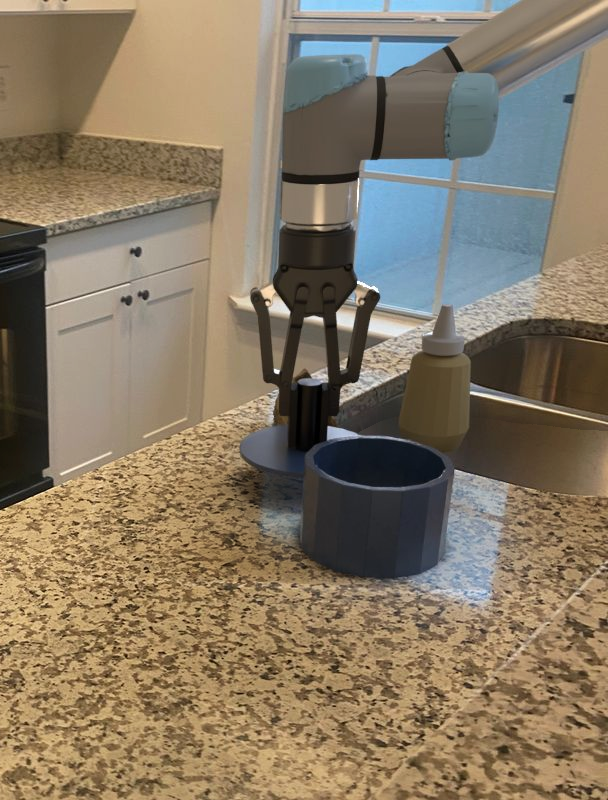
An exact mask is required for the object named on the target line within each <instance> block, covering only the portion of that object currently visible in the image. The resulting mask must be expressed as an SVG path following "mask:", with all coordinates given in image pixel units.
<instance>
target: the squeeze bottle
mask: <svg viewBox="0 0 608 800" xmlns="http://www.w3.org/2000/svg"><path fill="white" fill-rule="evenodd" d="M437 315H438V316H437V319H436V321H435V323H434V327H433V330H432V331H431V332H426V333H424V334H423V335H422V337H421V338H422V340H421V347H420V349H421V350H419V351H417V352H416V353H415V354H413V355H412V357H411V359H410V360H411V361H410V365H409V369H408V375H407V377H406V378H407V379H406V383H405V388H404V393H403V398H402V403H401V406H400V411H399V417H398V427H399V430H400V435H401V439H407V440H411V441H415V442H418V443H421V444H424V445H427V446H430V447H433V448H435V449H437V450H438V451H440V452H442V453H443V454H445V453H451V452H454V451H456V450H458V449H459V448H460V446H461V444H462V442H463V441H464V439H465V436H466V434H467V433H468V430H469V429H470V411H471V410H470V407H471V371H472V370H471V369H472V368H471V367H472V366H471V363H472V362H471V359H470V358H469V356H468V355H467V354H466V353H463V352H464V350H465V344H466V343H465V342H466V338H465V336H463V335H462V334H459V333H457V332H456V322H455V313H454V304H450V303H442V304H441V306H440V310H439V312H438V314H437Z"/></svg>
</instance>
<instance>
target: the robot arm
mask: <svg viewBox="0 0 608 800" xmlns="http://www.w3.org/2000/svg"><path fill="white" fill-rule="evenodd" d="M607 39H608V0H519V1H517V2H516V3H514V4H512V5H511V6H508V7H507V8H505V9H504V10H502V11H501V12H499V13H497V14H495V15H494V16H492V17H490V18H489V19H488V20H486V21H483V22H482V23H481V24H479V25H477V26H476V27H473V28H472V29H470V30H469V31H467V32H466V33H463V34H462V35H460V36H459V37H457V38H455V39H454V40H452V41H451V42H449V43H447V44H446V45H445V46H444V47H442V48H440V49H438V50H436V51H433V53H431V54H429V55H427V56H426V57H424V58H422V59H421V60H419V61H417V62H416V63H414V64H411V65H409V66H408V65H407V66H404V67H401V68H399V69H398V70H396V71H394V72H393V73H392V74H390V75H389V76H383V75H377V76H376V75H374V74H373V75H371V74H370V75H369V70H368V67H367V66H368V64H367V63H368V62H367V59H366V57H365V56H364V55H362V54H357V53H355V54H354V53H353V54H345V53H344V54H320V55H319V54H318V55H317V54H316V55H305V56H299V57H296V58H294V59H293V60H292V61H291V62H290V63H289V64H288V65H287V67H286V72H285V83H284V96H283V107H282V142H281V143H282V145H281V147H282V148H281V180H280V198H279V199H280V203H279V219H280V221H281V222H282V223H285V224H283V225H282V226H281V228H279V230H278V231H279V232H278V257H277V258H278V259H277V269H276V272H275V273H274V275H273V277H272V281H271V282H269V283H267V284H265V285H263V286H261V287H257V286H255V287H252V288H251V290H250V292H249V300H250V302H251V305H252V307H253V309H254V311H255V314H256V315H257V321H258V322H257V325H258V334H259V335H258V337H259V344H260V345H259V346H260V357H261V360H260V361H261V370H262V380H263V382H264V383H265V384H272V385H275V386H277V387H278V394H279V401H278V410H279V414H280V416H288V436H287V439H288V447H294V448H295V445H296V423H297V401H298V387H297V382H292V379H293V377H294V372H295V366H296V362H297V356H298V351H299V344H300V340H301V336H302V335H301V334H302V329H303V325H304V321H305V319H307V318H311V317H317V318H321V319H322V322H323V323H322V324H323V334H324V335H323V336H324V347H325V359H326V369H327V371H326V372H327V382H323V381H322V393H321V411H320V429H319V443H322V442H325V441H327V430H328V416H333V417H338V416H339V414H340V403H341V401H340V400H341V391H342V390H341V389H342V388H343V387H344V386H347V385H349V384H356V383H358V382H359V380H360V377H361V370H362V366H363V365H362V364H363V359H364V354H365V348H366V344H367V339H368V333H369V327H370V323H371V317H372V314H373V312H374V310H375V309H376V307H377V305H378V304H379V302H380V300H381V294H380V291H379V290H378V288H377V287H376V286H375V285H367V284H365V283H363V282H360V281H359V280H358V276H357V274H356V273H355V268H354V265H355V264H354V263H355V248H356V235H357V234H356V233H357V229H356V227H355V226H354V225H353V224H352V223H353V222H354V221H355V220H356V219H357V217H358V203H359V185H360V172H361V171H360V168H361V162H362V161H379V160H449V161H455V160H457V159H465V158H467V159H468V158H478V157H482V156H484V155H485V154H486V153H488V152H489V150H490V149H491V147H492V146H493V142H494V139H495V135H496V131H497V128H498V127H497V126H498V119H499V112H500V111H499V110H500V109H499V108H500V99H502V98H504V97H505V96H507V95H509V94H511V93H513V92H515V91H516V90H518V89H519V88H522V87H523V86H525V85H527V84H529V83H531V82H532V81H534V80H535V79H537V78H538V77H540V76H543V75H544V74H546V73H548V72H550V71H551V70H553V69H555V68H557V67H559V66H560V65H562V64H564V63H566V62H567V61H569V60H571V59H573V58H575V57H577V56H578V55H580V54H582V53H583V52H585V51H587V50H589V49H590V48H592V47H594V46H595V45H597V44H599V43H601V42H603V41H605V40H607ZM353 293H354V294H355V296H354V302H355V305H356V306H357V307H356V310H355V316H354V322H353V327H352V331H351V336H350V337H351V338H350V341H349V342H350V343H349V349H348V353H347V359H346V365H345V368H343V369H341V362H340V349H339V335H338V320H337V318H338V317H337V312H338V311H340V309H341V308H342V306H343V305H344V304H345V303H346V301H347V300H348V299H349V297H351V295H352V294H353ZM275 294H277V295H278V297H279V298H280V300H281V301H282V302H283V304H284V305H285V307H286V308H287V309H288V311H289V317H288V318H289V319H288V323H287V324H288V325H287V331H286V337H285V342H284V347H283V353H282V357H281V358H282V359H281V365H280V370H278V369H276V368H275V367H274V365H275V364H274V356H273V355H274V354H273V342H272V341H273V340H272V330H271V318H270V317H271V316H270V307H272V306H273V304H274V295H275Z"/></svg>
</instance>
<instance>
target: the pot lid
mask: <svg viewBox="0 0 608 800" xmlns="http://www.w3.org/2000/svg"><path fill="white" fill-rule="evenodd" d="M322 382H323V381H322V380H320V379H317V378H313V377H312V378H306V379H301V380H298V382H297V387H298V401H297V423H296V445H295V448H294V447H288V439H287V436H288V425H281V426H278V425H275V426H269V427H265V428H261V429H258V430H256V431H253V432H251V433H249V434H248V435H246V436H245V437H244V438H243V439H242V440H241V441H240V443H239V455H240V457H241V459H242V461H244V462H245V463H246V464H248V465H249V466H250V467H252V468H255V469H256V470H259V471H261V472H264V473H268V474H272V475H275V476H279V477H280V476H281V477H287V478H295V479H303V478H304V462H305V454H306V453H307V452H308V451H309V450H310V449H311V448H312V447H313V446H314V445H316V444H319V429H320V411H321V393H322ZM356 435H357V436H362V435H361V434H359V433H357V432H354V431H351V430H348V429H344V428H340V427H339V428H336V427H331V426H328V430H327V440H330V439H333V438H341V437H348V436H356Z"/></svg>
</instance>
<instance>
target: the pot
mask: <svg viewBox="0 0 608 800" xmlns="http://www.w3.org/2000/svg"><path fill="white" fill-rule="evenodd" d="M455 471H456V469H455V466H454V464H453V462H452V460H451V458H450V456H448V455H447V454H445V453H442V452H440V451H438V450H437V449H435V448H433V447H430V446H427V445H424V444H421V443H418V442H415V441H411V440H407V439H402V438H400V437H393V436H386V435H361V436H357V435H356V436H348V437H341V438H333V439H330V440H327V441H325V442H322V443H319V444H316V445H314V446H313V447H312V448H311V449H310V450H309V451H308V452H307V453H306V454H305V462H304V478H302V479H303V480H302V494H301V510H300V528H299V542H300V549H301V551H303V552H304V553H305V555H306V556H308V558H310V559H311V560H312V561H313V562H314V563H316V564H318V565H321V566H323V567H325V568H327V569H329V570H331V571H333V572H336V573H341V574H346V575H349V576H355V577H358V578H364V579H395V580H396V579H400V578H401V579H402V578H405V577H411V576H419V575H421V574H422V573H425V572H428V571H429V570H431V569H433V568H435V567H437V566H438V565H439V564H440V561H441V559H442V558H443V556H444V553H445V547H446V539H447V531H448V523H449V515H450V509H451V508H450V507H451V500H452V493H453V485H454V478H455Z"/></svg>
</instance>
